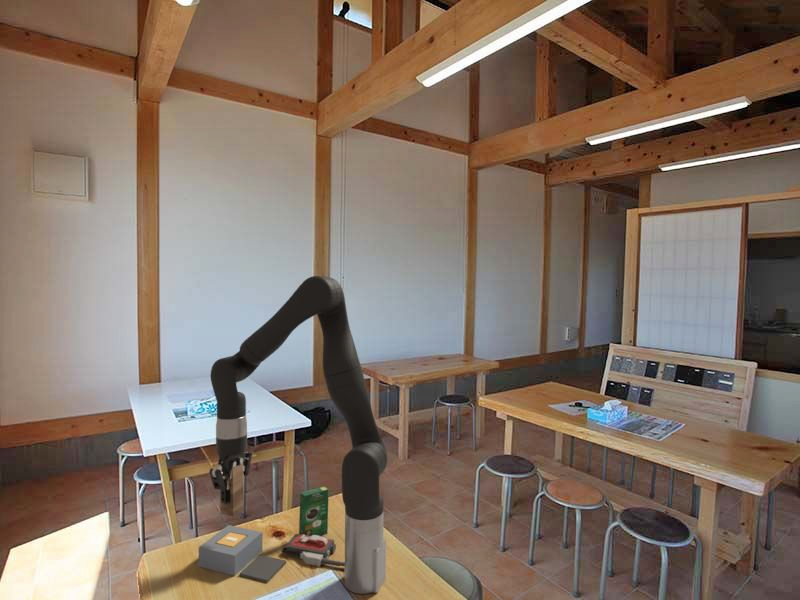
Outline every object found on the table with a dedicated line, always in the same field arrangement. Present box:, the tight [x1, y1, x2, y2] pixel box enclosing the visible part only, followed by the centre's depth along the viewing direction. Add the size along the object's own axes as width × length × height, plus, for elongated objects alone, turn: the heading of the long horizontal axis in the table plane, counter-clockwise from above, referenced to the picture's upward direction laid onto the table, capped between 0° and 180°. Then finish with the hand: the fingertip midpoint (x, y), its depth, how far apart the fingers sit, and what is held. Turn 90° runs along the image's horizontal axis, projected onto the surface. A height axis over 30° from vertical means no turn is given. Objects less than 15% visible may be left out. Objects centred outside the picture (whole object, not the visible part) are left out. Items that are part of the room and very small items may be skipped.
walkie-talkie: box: [281, 533, 345, 567], centre depth 115 cm, size 9×4×20 cm
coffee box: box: [298, 485, 330, 537], centre depth 125 cm, size 8×3×13 cm, turn 128°
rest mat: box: [239, 554, 287, 583], centre depth 109 cm, size 8×8×1 cm
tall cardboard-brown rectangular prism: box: [219, 463, 245, 517], centre depth 113 cm, size 4×4×12 cm
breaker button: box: [216, 532, 246, 548], centre depth 114 cm, size 5×5×4 cm
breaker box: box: [198, 524, 264, 577], centre depth 114 cm, size 11×11×5 cm
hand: (232, 498), depth 113 cm, fingers closed on tall cardboard-brown rectangular prism, 4 cm apart
